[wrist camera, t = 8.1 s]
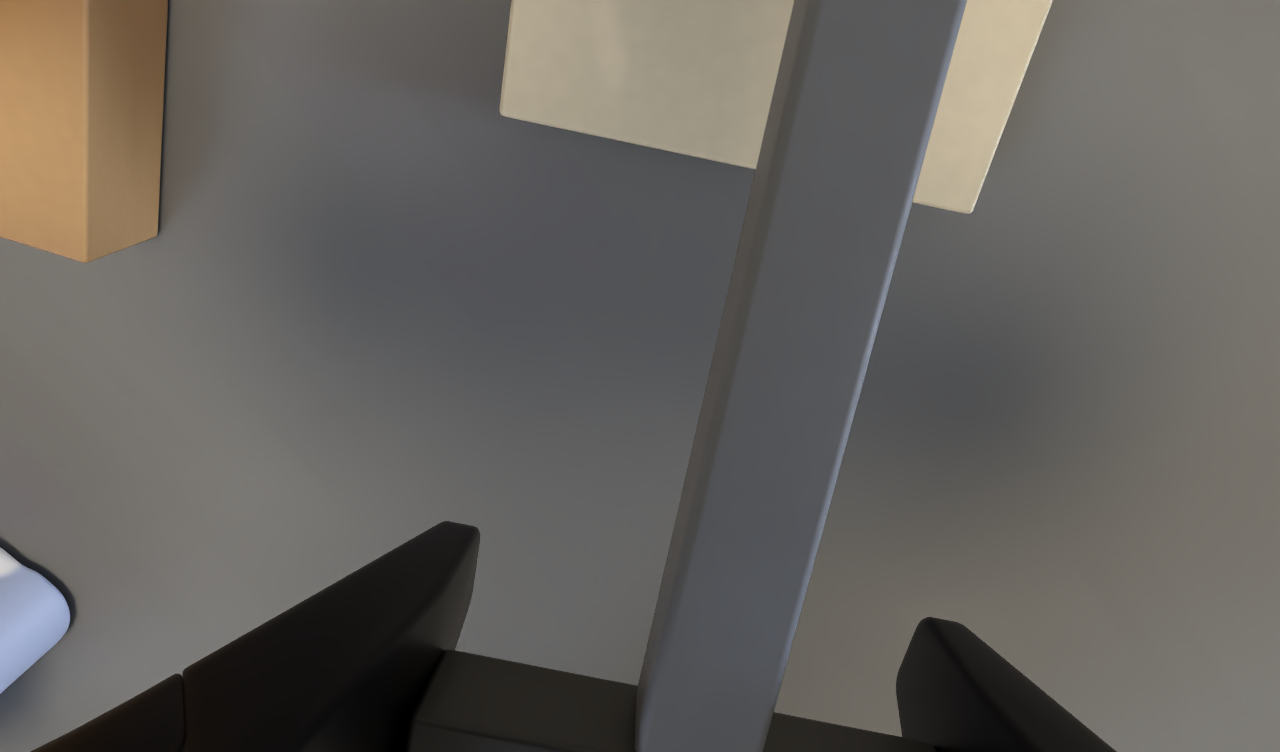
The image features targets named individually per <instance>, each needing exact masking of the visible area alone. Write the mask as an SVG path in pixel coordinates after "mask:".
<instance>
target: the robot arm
mask: <svg viewBox="0 0 1280 752" xmlns="http://www.w3.org/2000/svg"><path fill="white" fill-rule="evenodd" d="M479 543H480V532H479V529H478V528H477V527H475V526H470V525H465V524H460V523H455V522H450V521H444V522H441V523H439V524H437V525H436V526H434V527H432V528H430V529H429V530H427V531H425V532H423V533H422V534H420V535H418V536H416V537H415V538H413V539H411V540H409V541H408V542H406V543H404V544H402V545H401V546H399V547H397V548H395V549H394V550H392V551H390V552H388V553H387V554H385V555H383V556H381V557H380V558H378V559H376V560H374V561H373V562H371V563H369V564H367V565H366V566H364V567H362V568H360V569H359V570H357V571H355V572H353V573H352V574H350V575H348V576H346V577H345V578H343V579H341V580H339V581H338V582H336V583H334V584H332V585H331V586H329V587H327V588H325V589H324V590H322V591H320V592H318V593H317V594H315V595H313V596H311V597H310V598H308V599H306V600H304V601H303V602H301V603H299V604H297V605H296V606H294V607H292V608H290V609H289V610H287V611H285V612H283V613H282V614H280V615H278V616H276V617H275V618H273V619H271V620H269V621H268V622H266V623H264V624H262V625H261V626H259V627H257V628H255V629H253V630H252V631H250V632H248V633H246V634H245V635H243V636H241V637H239V638H238V639H236V640H234V641H232V642H231V643H229V644H227V645H225V646H224V647H222V648H220V649H218V650H217V651H215V652H213V653H211V654H210V655H208V656H206V657H204V658H203V659H201V660H199V661H197V662H196V663H194V664H192V665H190V666H189V667H187V668H185V669H184V671H183V674H182V676H183V678H182V676H181V675H180V674H174V675H172V676H171V677H169V678H167V679H165V680H164V681H162V682H160V683H158V684H157V685H155V686H153V687H151V688H150V689H148V690H146V691H144V692H143V693H141V694H139V695H137V696H135V697H134V698H132V699H130V700H128V701H126V702H124V703H123V704H121V705H119V706H117V707H115V708H113V709H112V710H110V711H108V712H106V713H104V714H102V715H100V716H99V717H97V718H95V719H93V720H91V721H89V722H88V723H86V724H84V725H82V726H80V727H78V728H77V729H75V730H73V731H71V732H69V733H67V734H65V735H63V736H61V737H59V738H57V739H55V740H53V741H51V742H49V743H47V744H45V745H43V746H41V747H39V748H37V749H35V750H33V751H31V752H405V749H406V743H407V736H408V730H409V724H410V718H411V716H412V714H413V712H414V710H415V708H416V706H417V704H418V702H419V700H420V698H421V696H422V694H423V692H424V690H425V688H426V685H427V683H428V681H429V679H430V677H431V675H432V673H433V672H434V670H435V668H436V666H437V664H438V662H439V660H440V658H441V656H442V654H443V652H444V651H445V650H455V648H456V645H457V642H458V639H459V636H460V633H461V629H462V626H463V623H464V620H465V617H466V614H467V611H468V608H469V604H470V601H471V596H472V591H473V585H474V578H475V571H476V564H477V557H478V550H479ZM896 695H897V702H898V709H899V716H900V723H901V730H902V737H903V738H908V739H914V740H919V741H924V742H928V743H930V744H932V745H933V746H934V747H935V749H936V751H937V752H1116V751H1115V750H1114V749H1113V748H1111V747H1110V746H1109V745H1108V744H1107V743H1105V742H1104V741H1103V740H1102V739H1101V738H1099V737H1098V736H1097V735H1096V734H1095V733H1093V732H1092V731H1091V730H1090V729H1088V728H1087V727H1086V726H1085V725H1084V724H1082V723H1081V722H1080V721H1079V720H1078V719H1076V718H1075V717H1074V716H1073V715H1072V714H1070V713H1069V712H1068V711H1067V710H1065V709H1064V708H1063V707H1062V706H1061V705H1059V704H1058V703H1057V702H1056V701H1055V700H1053V699H1052V698H1051V697H1050V696H1049V695H1047V694H1046V693H1045V692H1044V691H1042V690H1041V689H1040V688H1039V687H1038V686H1036V685H1035V684H1034V683H1033V682H1032V681H1030V680H1029V679H1028V678H1027V677H1026V676H1024V675H1023V674H1022V673H1021V672H1020V671H1018V670H1017V669H1016V668H1015V667H1013V666H1012V665H1011V664H1010V663H1009V662H1007V661H1006V660H1005V659H1004V658H1003V657H1001V656H1000V655H999V654H998V653H997V652H995V651H994V650H993V649H992V648H990V647H989V646H988V645H987V644H986V643H984V642H983V641H982V640H981V639H980V638H978V637H977V636H976V635H975V634H974V633H972V632H971V631H970V630H969V629H968V628H966V627H965V626H964V625H962V624H960V623H958V622H953V621H948V620H943V619H938V618H933V617H927V618H924V619H922V620H921V621H920V623H919V624H918V626H917V628H916V630H915V632H914V635H913V637H912V640H911V642H910V644H909V647H908V649H907V652H906V654H905V657H904V659H903V661H902V664H901V666H900V669H899V672H898V675H897V681H896Z"/></svg>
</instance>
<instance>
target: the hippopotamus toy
mask: <svg viewBox="0 0 1280 752" xmlns="http://www.w3.org/2000/svg"><path fill="white" fill-rule="evenodd" d="M69 623H70V612H69V608H68V605H67V602H66V600H65V598H64V596H63V595H62V594H61V592H60V591H59V590H58V589H57V588H56V587H55V586H54V585H53V584H52V583H50V582H49V581H48V580H47V579H46V578H45V577H43V576H42V575H41V574H39V573H38V572H36V571H34V570H32V569H30V568H27V567H25V566H24V565H22V564H20V563H19V562H18V561H17V560H15V559H14V558H13V557H12V556H11V555H9V554H8V553H7V552H6V551H4V550H3V549H2V548H1V547H0V694H1V693H2V692H3V691H4V690H5V689H6V688H7V687H8V686H9V685H11V684H12V683H13V682H14V681H15V680H16V679H17V678H18V677H19V676H21V675H22V674H23V673H24V672H25V671H26V670H27V669H28V668H30V667H31V666H32V665H33V664H34V663H35V662H36V661H37V660H38V659H40V658H41V657H42V656H43V655H44V654H45V653H46V652H47V651H48V650H50V649H51V648H52V647H53V646H54V645H55V644H56V643H57V642H58V641H59V640H60V639H61V638H62V637H63V636H64V634H65V633H66V631H67V629H68V627H69Z"/></svg>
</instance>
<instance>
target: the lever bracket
mask: <svg viewBox="0 0 1280 752" xmlns="http://www.w3.org/2000/svg"><path fill="white" fill-rule="evenodd" d="M1052 1H1053V0H967V3H966V7H965V10H964V14H963V18H962V21H961V25H960V29H959V32H958V36H957V40H956V43H955V47H954V51H953V54H952V58H951V62H950V65H949V69H948V73H947V76H946V80H945V84H944V87H943V91H942V95H941V98H940V102H939V106H938V109H937V113H936V117H935V120H934V124H933V128H932V131H931V135H930V139H929V143H928V146H927V150H926V154H925V157H924V161H923V165H922V168H921V172H920V176H919V179H918V183H917V187H916V190H915V194H914V198H913V201H912V203H917V204H922V205H926V206H931V207H936V208H941V209H945V210H950V211H955V212H960V213H964V214H969V213H971V212H972V211H973V209H974V206H975V204H976V201H977V199H978V196H979V193H980V191H981V188H982V185H983V183H984V180H985V177H986V175H987V172H988V170H989V167H990V164H991V162H992V159H993V156H994V154H995V151H996V149H997V146H998V143H999V141H1000V138H1001V135H1002V133H1003V130H1004V128H1005V125H1006V122H1007V120H1008V117H1009V114H1010V112H1011V109H1012V107H1013V104H1014V101H1015V99H1016V96H1017V93H1018V91H1019V88H1020V86H1021V83H1022V80H1023V78H1024V75H1025V72H1026V70H1027V67H1028V65H1029V62H1030V59H1031V57H1032V54H1033V51H1034V49H1035V46H1036V44H1037V41H1038V38H1039V36H1040V33H1041V30H1042V28H1043V25H1044V22H1045V20H1046V17H1047V15H1048V12H1049V9H1050V7H1051V4H1052ZM793 4H794V0H511V9H510V18H509V27H508V36H507V45H506V54H505V63H504V72H503V81H502V90H501V100H500V109H499V111H500V114H501V115H502V116H504V117H509V118H514V119H518V120H523V121H528V122H533V123H537V124H542V125H547V126H552V127H556V128H561V129H566V130H571V131H575V132H580V133H585V134H590V135H594V136H599V137H604V138H609V139H613V140H618V141H623V142H628V143H632V144H637V145H642V146H647V147H651V148H656V149H661V150H665V151H670V152H675V153H680V154H684V155H689V156H694V157H699V158H703V159H708V160H713V161H718V162H722V163H727V164H732V165H737V166H741V167H746V168H751V169H756V166H757V162H758V157H759V153H760V149H761V144H762V140H763V136H764V131H765V127H766V122H767V118H768V114H769V109H770V105H771V100H772V96H773V92H774V87H775V83H776V79H777V74H778V70H779V65H780V61H781V57H782V52H783V48H784V43H785V39H786V35H787V30H788V26H789V22H790V17H791V13H792V8H793Z"/></svg>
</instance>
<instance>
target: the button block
mask: <svg viewBox="0 0 1280 752" xmlns="http://www.w3.org/2000/svg"><path fill="white" fill-rule="evenodd" d="M167 11H168V0H0V237H2V238H5V239H9V240H12V241H15V242H18V243H22V244H25V245H28V246H31V247H34V248H38V249H41V250H44V251H47V252H51V253H54V254H57V255H60V256H63V257H67V258H70V259H73V260H76V261H80V262H83V263H88V262H91V261H93V260H96V259H98V258H101V257H104V256H106V255H109V254H112V253H114V252H117V251H120V250H122V249H125V248H127V247H130V246H133V245H135V244H138V243H141V242H143V241H146V240H149V239H151V238H154V237H156V236H157V234H158V214H159V191H160V169H161V146H162V124H163V101H164V79H165V56H166V34H167Z"/></svg>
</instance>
